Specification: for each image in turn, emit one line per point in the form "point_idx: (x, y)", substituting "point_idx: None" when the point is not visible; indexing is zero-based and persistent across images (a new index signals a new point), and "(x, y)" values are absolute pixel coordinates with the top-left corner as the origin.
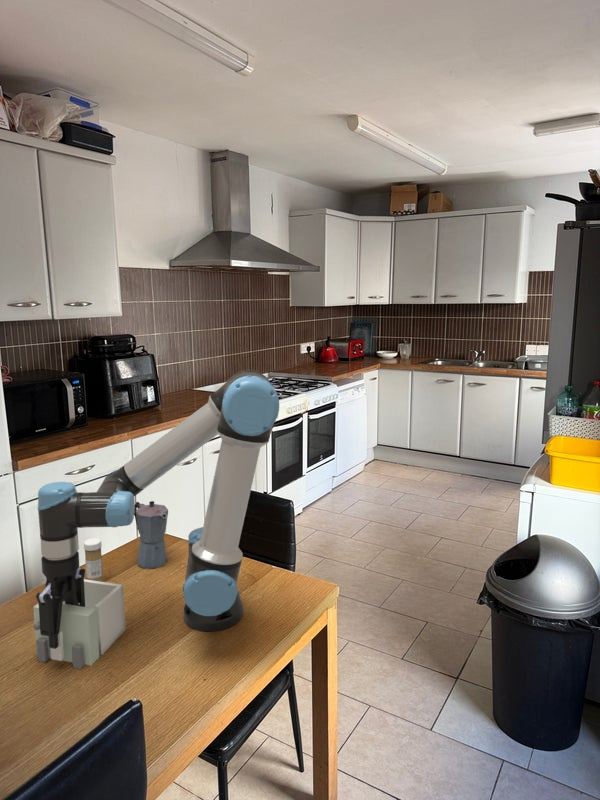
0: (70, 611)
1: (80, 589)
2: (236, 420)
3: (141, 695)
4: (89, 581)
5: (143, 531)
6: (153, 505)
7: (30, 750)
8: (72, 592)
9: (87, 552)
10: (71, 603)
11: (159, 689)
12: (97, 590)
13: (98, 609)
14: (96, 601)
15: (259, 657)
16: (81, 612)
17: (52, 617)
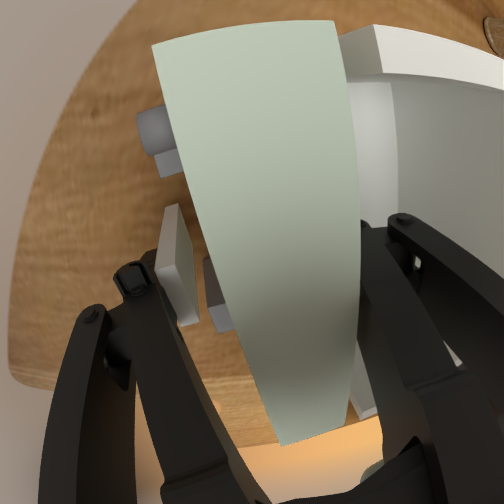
0: (281, 395)
1: (468, 365)
2: None
3: (222, 407)
4: None
5: None
6: None
7: (36, 368)
8: (386, 461)
9: None
10: (365, 342)
11: (249, 412)
12: (500, 230)
13: (355, 408)
14: (462, 199)
15: (356, 421)
16: (296, 424)
17: (129, 445)
